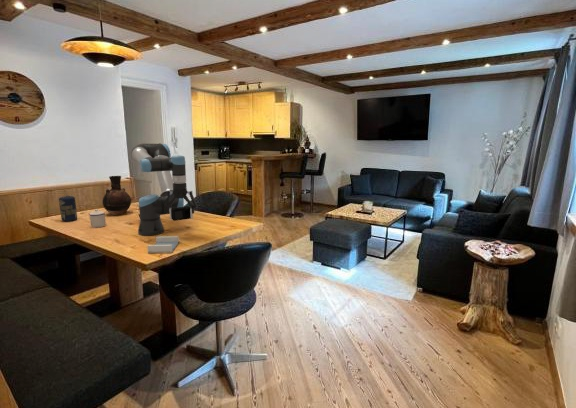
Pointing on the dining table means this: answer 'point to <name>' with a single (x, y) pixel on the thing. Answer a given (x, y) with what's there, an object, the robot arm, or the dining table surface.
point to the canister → (68, 208)
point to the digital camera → (181, 213)
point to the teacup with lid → (97, 218)
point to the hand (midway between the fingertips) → (181, 218)
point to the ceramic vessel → (116, 198)
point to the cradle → (164, 244)
